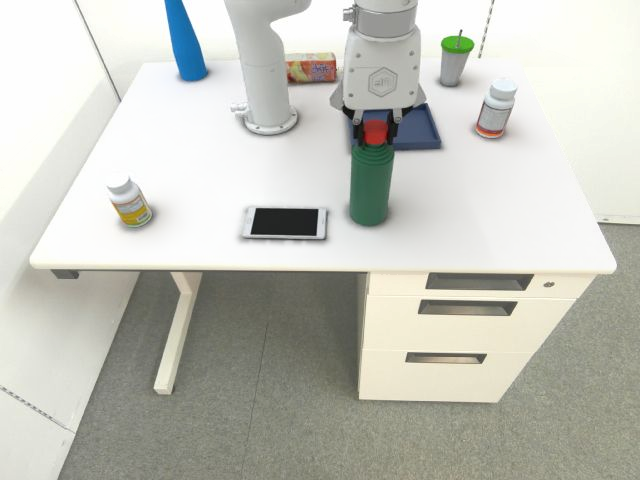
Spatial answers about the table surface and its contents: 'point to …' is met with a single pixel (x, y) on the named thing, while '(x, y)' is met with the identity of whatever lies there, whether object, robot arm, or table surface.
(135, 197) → the supplement bottle
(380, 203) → the water bottle
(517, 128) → the table surface
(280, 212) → the smartphone
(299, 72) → the juice carton
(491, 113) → the pill bottle
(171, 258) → the table surface
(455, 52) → the cup
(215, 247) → the table surface
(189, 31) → the bottle
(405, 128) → the tray
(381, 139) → the cap
